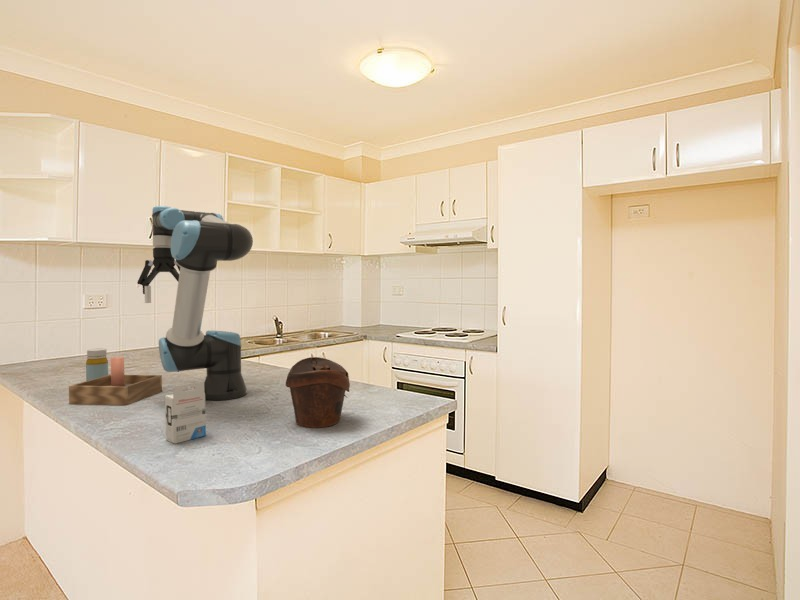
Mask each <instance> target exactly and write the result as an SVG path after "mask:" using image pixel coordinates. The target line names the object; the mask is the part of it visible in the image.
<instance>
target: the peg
mask: <svg viewBox="0 0 800 600" xmlns="http://www.w3.org/2000/svg"><path fill="white" fill-rule="evenodd" d="M110 374H111V386H121V387H125V384H124V375H125V357H123V356H116V357H111V358H110Z"/></svg>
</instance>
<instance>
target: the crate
mask: <svg viewBox="0 0 800 600" xmlns="http://www.w3.org/2000/svg"><path fill="white" fill-rule="evenodd" d="M124 384H125V387H121V386H111V373H110V374H108V375H107V376H103V377H100V378H96V379H92V380H89V381H86V380H85V381H83V382H79V383H75V384H71V385H68V405H90V406H91V405H95V406H97V405H99V406H101V405H103V406H128V405H131V404H133V403H135V402H138V401H140V400H144V399H145V398H148V397H151V396H153V395H156V394H158V393H161V392H163V376H162V375H161V374H124Z"/></svg>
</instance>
